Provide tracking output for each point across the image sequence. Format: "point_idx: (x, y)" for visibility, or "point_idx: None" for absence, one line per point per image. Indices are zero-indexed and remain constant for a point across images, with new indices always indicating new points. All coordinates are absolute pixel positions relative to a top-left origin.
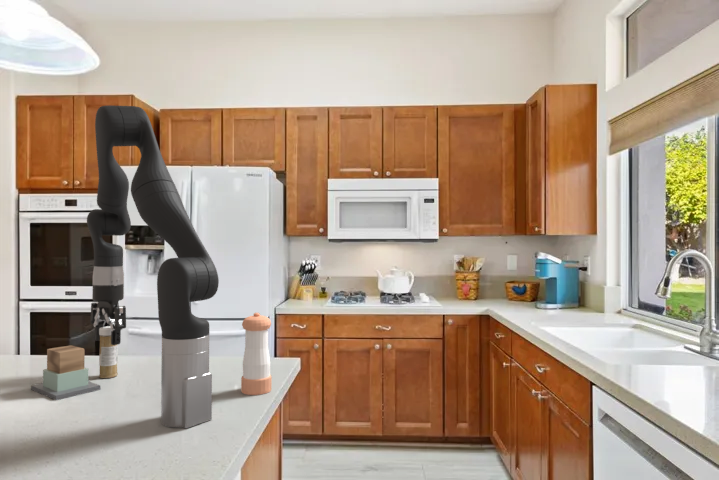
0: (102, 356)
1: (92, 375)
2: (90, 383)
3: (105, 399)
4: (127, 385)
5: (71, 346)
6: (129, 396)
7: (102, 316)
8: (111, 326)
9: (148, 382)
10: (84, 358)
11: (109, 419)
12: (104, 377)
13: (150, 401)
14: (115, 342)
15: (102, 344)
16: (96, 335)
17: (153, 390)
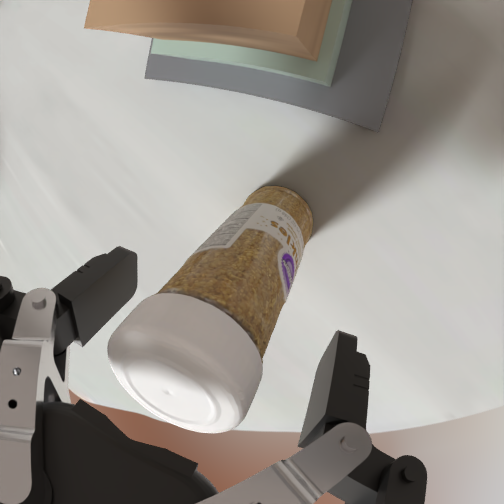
0: (238, 220)
1: (361, 216)
2: (198, 74)
3: (75, 39)
4: (121, 154)
5: (240, 4)
6: (51, 90)
7: (142, 481)
8: (34, 317)
9: (101, 204)
10: (127, 33)
11: (11, 3)
12: (261, 188)
13: (12, 98)
14: (100, 257)
15: (213, 258)
16: (335, 358)
17: (47, 154)
